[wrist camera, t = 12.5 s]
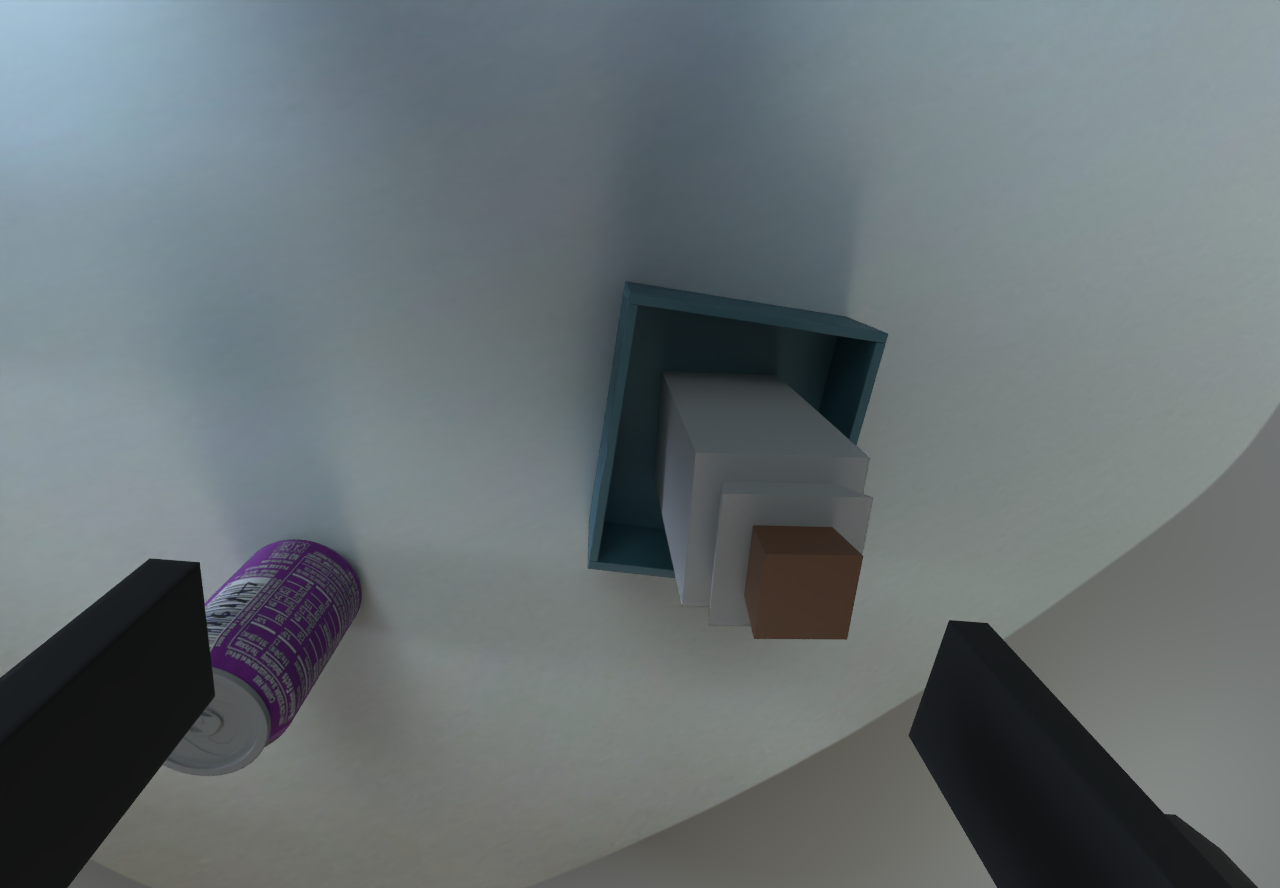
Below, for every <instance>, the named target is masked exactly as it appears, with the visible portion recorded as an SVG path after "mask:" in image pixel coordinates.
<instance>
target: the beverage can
mask: <svg viewBox="0 0 1280 888" xmlns="http://www.w3.org/2000/svg"><path fill="white" fill-rule="evenodd" d="M360 604H361V586H360V583H359V580H358V577H357V575H356V573H355V572H354V570H353V568H352V567H351V566H350V564H349V563H348V562H347V561H346V560H345V559H344V558H343V557H342V556H340V555H339V554H338V553H336V552H335V551H333V550H332V549H330V548H328V547H326V546H324V545H321V544H318V543H315V542H311V541H307V540H296V539H293V540H282V541H278V542H274V543H271V544H269V545H267V546H265V547H263V548H262V549H260V550H259V551H257V552H256V553H255V554H254V555H253V556H252V557H251V558H250V559H249V560H248V561H247V562H246V563H245V564H244V565H243V566H242V567H241V568H240V569H239V570H238V571H237V572H236V573H235V574H234V575H233V576H232V577H231V578H230V579H229V580H228V581H227V582H226V583H225V584H224V585H223V586H222V587H221V588H220V589H219V590H218V591H217V592H216V593H215V594H214V595H213V596H212V597H211V598H210V599H209V600H208V601H207V602H206V603H205V612H206V621H207V629H208V638H209V646H210V654H211V663H212V671H213V680H214V688H215V697H214V698H213V700H212V701H211V702H210V704H209V705H208V706H207V708H206V709H205V710H204V711H203V713H202V714H201V715H200V717H199V718H198V719H197V720H196V722H195V723H194V724H193V726H192V727H191V728H190V730H189V731H188V732H187V733H186V735H185V736H184V737H183V739H182V740H181V741H180V742H179V744H178V745H177V746H176V748H175V749H174V750H173V752H172V753H171V754H170V755H169V757H168V758H167V759H166V761H165V762H164V763H163V764H162V765H164V766H166V767H168V768H171V769H173V770H176V771H179V772H182V773H187V774H192V775H199V776H216V775H223V774H228V773H232V772H235V771H237V770H240V769H242V768H244V767H245V766H247V765H249V764H250V763H251V762H253V761H254V760H255V759H256V758H257V757H258V756H259V754H260V753H261V752H262V750H263V748H264V747H266V746H267V745H269V744H271V743H272V742H274V741H275V740H276V739H277V738H279V737H280V736H281V735H282V734H283V733H284V732H285V730H286V729H287V728H288V726H289V725H290V723H291V722H292V720H293V719H294V717H295V715H296V714H297V712H298V710H299V709H300V707H301V705H302V704H303V702H304V700H305V699H306V697H307V695H308V694H309V692H310V691H311V689H312V687H313V686H314V684H315V682H316V681H317V679H318V677H319V676H320V674H321V672H322V671H323V669H324V667H325V666H326V664H327V662H328V661H329V659H330V658H331V656H332V654H333V653H334V651H335V649H336V648H337V646H338V644H339V643H340V641H341V639H342V638H343V636H344V634H345V633H346V631H347V630H348V628H349V626H350V625H351V623H352V621H353V620H354V618H355V616H356V615H357V613H358V610H359V608H360Z"/></svg>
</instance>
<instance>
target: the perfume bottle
mask: <svg viewBox="0 0 1280 888" xmlns="http://www.w3.org/2000/svg"><path fill="white" fill-rule="evenodd" d="M869 459H870V458H869V457H868V456H867V455H866V454H865V453H864V452H863V451H861V450H860V449H859V448H858V447H857V446H856V445H855V444H854V443H852V442H851V441H850V440H849V439H848V438H847V437H846V436H845V435H843V434H842V433H841V432H840V431H839V430H838V429H837V428H836V427H834V426H833V425H832V424H831V423H830V422H829V421H828V420H827V419H825V418H824V417H823V416H822V415H821V414H820V413H819V412H818V411H816V410H815V409H814V408H813V407H812V406H811V405H810V404H809V403H807V402H806V401H805V400H804V399H803V398H802V397H801V396H800V395H799V394H797V393H796V392H795V391H794V390H793V389H792V388H791V387H790V386H788V385H787V384H786V383H785V382H784V381H783V380H782V379H781V378H779V377H778V376H777V375H755V374H731V373H707V372H682V371H662V374H661V388H660V403H659V417H658V432H657V446H656V461H655V475H654V481H655V485H656V490H657V494H658V499H659V504H660V508H661V513H662V517H663V522H664V527H665V531H666V536H667V540H668V545H669V550H670V554H671V559H672V563H673V568H674V572H675V577H676V582H677V586H678V591H679V595H680V600H681V605H682V606H689V607H710V612H709V626H751V628H752V632H753V637H754V639H847V637H848V631H849V626H850V621H851V616H852V611H853V606H854V601H855V595H856V590H857V585H858V580H859V575H860V570H861V564H862V559H863V555H862V553H863V548H864V543H865V538H866V532H867V527H868V522H869V517H870V512H871V507H872V501H873V497H870V496H867V495H865V494H863V491H864V486H865V480H866V475H867V470H868V464H869Z"/></svg>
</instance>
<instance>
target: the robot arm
mask: <svg viewBox="0 0 1280 888" xmlns="http://www.w3.org/2000/svg"><path fill="white" fill-rule="evenodd" d="M214 697H215V688H214V680H213V671H212V663H211V654H210V646H209V638H208V629H207V621H206V612H205V604H204V596H203V587H202V579H201V570H200V562H187V561H174V560H162V559H149V560H147V561H146V562H145V563H144V564H142V565H141V566H140V567H139V568H137V569H136V570H135V571H134V572H132V573H131V574H130V575H129V576H127V577H126V578H125V579H124V580H122V581H121V582H120V583H119V584H117V585H116V586H115V587H114V588H112V589H111V590H110V591H109V592H107V593H106V594H105V595H104V596H102V597H101V598H100V599H99V600H97V601H96V602H95V603H94V604H92V605H91V606H90V607H89V608H87V609H86V610H85V611H84V612H82V613H81V614H80V615H78V616H77V617H76V618H75V619H73V620H72V621H71V622H70V623H68V624H67V625H66V626H65V627H63V628H62V629H61V630H60V631H58V632H57V633H56V634H55V635H53V636H52V637H51V638H50V639H48V640H47V641H46V642H45V643H43V644H42V645H41V646H40V647H38V648H37V649H36V650H35V651H33V652H32V653H31V654H30V655H28V656H27V657H26V658H25V659H23V660H22V661H21V662H20V663H18V664H17V665H16V666H15V667H13V668H12V669H11V670H10V671H8V672H7V673H6V674H5V675H3V676H2V677H1V678H0V888H67V887H68V886H69V885H70V884H71V882H72V881H73V880H74V878H75V877H76V876H77V874H78V873H79V872H80V871H81V869H82V868H83V867H84V865H85V864H86V863H87V862H88V860H89V859H90V858H91V856H92V855H93V854H94V853H95V851H96V850H97V849H98V847H99V846H100V845H101V843H102V842H103V841H104V840H105V838H106V837H107V836H108V834H109V833H110V832H111V831H112V829H113V828H114V827H115V825H116V824H117V823H118V821H119V820H120V819H121V818H122V816H123V815H124V814H125V812H126V811H127V810H128V808H129V807H130V806H131V805H132V803H133V802H134V801H135V799H136V798H137V797H138V796H139V794H140V793H141V792H142V790H143V789H144V788H145V786H146V785H147V784H148V783H149V781H150V780H151V779H152V777H153V776H154V775H155V774H156V772H157V771H158V770H159V768H160V767H161V766H162V764H163V763H164V762H165V761H166V759H167V758H168V757H169V755H170V754H171V753H172V752H173V750H174V749H175V748H176V746H177V745H178V744H179V742H180V741H181V740H182V739H183V737H184V736H185V735H186V733H187V732H188V731H189V730H190V728H191V727H192V726H193V724H194V723H195V722H196V720H197V719H198V718H199V717H200V715H201V714H202V713H203V711H204V710H205V709H206V708H207V706H208V705H209V704H210V702H211V701H212V700H213V698H214ZM909 737H910V739H911V740H912V742H913V744H914V746H915V747H916V749H917V751H918V752H919V754H920V756H921V758H922V759H923V761H924V763H925V764H926V766H927V768H928V770H929V771H930V773H931V775H932V776H933V778H934V780H935V782H936V783H937V785H938V787H939V788H940V790H941V792H942V794H943V795H944V797H945V799H946V800H947V802H948V804H949V806H950V807H951V809H952V811H953V813H954V814H955V816H956V818H957V819H958V821H959V823H960V825H961V826H962V828H963V830H964V831H965V833H966V835H967V837H968V838H969V840H970V842H971V843H972V845H973V847H974V848H975V850H976V852H977V854H978V855H979V857H980V859H981V860H982V862H983V864H984V866H985V867H986V869H987V871H988V873H989V874H990V876H991V878H992V879H993V881H994V883H995V885H996V886H997V888H1258V887H1257V886H1256V885H1255V884H1254V883H1253V882H1252V881H1251V880H1250V879H1249V878H1248V877H1247V876H1246V875H1245V874H1244V873H1243V872H1242V871H1241V870H1240V869H1239V868H1238V866H1237V865H1236V864H1235V863H1234V862H1233V861H1232V860H1231V859H1230V858H1229V857H1228V856H1227V855H1226V854H1225V853H1224V852H1223V851H1222V850H1221V849H1220V848H1219V847H1217V846H1216V845H1215V844H1213V843H1212V842H1211V841H1209V840H1208V839H1207V838H1205V837H1204V836H1203V835H1201V834H1200V833H1199V832H1197V831H1196V830H1195V829H1194V828H1192V827H1191V826H1189V825H1188V824H1187V823H1186V822H1184V821H1183V820H1182V819H1180V818H1179V817H1178V816H1176V815H1170V814H1164V813H1163V812H1162V811H1161V810H1160V809H1159V808H1158V807H1157V806H1156V805H1155V804H1154V802H1153V801H1152V800H1151V799H1150V798H1149V797H1148V796H1147V795H1146V794H1145V793H1144V792H1143V790H1142V789H1141V788H1140V787H1139V786H1138V785H1137V784H1136V783H1135V782H1134V781H1133V780H1132V779H1131V778H1130V776H1129V775H1128V774H1127V773H1126V772H1125V771H1124V770H1123V769H1122V768H1121V767H1120V766H1119V765H1118V763H1116V761H1115V760H1114V759H1113V758H1112V757H1111V756H1110V755H1109V754H1108V753H1107V752H1106V751H1105V749H1104V748H1103V747H1102V746H1101V745H1100V744H1099V743H1098V742H1097V741H1096V740H1095V739H1094V738H1093V736H1092V735H1091V734H1090V733H1089V732H1088V731H1087V730H1086V729H1085V728H1084V727H1083V726H1082V725H1081V724H1080V722H1079V721H1078V720H1077V719H1076V718H1075V717H1074V716H1073V715H1072V714H1071V713H1070V712H1069V711H1068V710H1067V708H1066V707H1065V706H1064V705H1063V704H1062V703H1061V702H1060V701H1059V700H1058V699H1057V698H1056V697H1055V695H1054V694H1053V693H1052V692H1051V691H1050V690H1049V689H1048V688H1047V687H1046V686H1045V685H1044V684H1043V682H1042V681H1041V680H1040V679H1039V678H1038V677H1037V676H1036V675H1035V674H1034V673H1033V672H1032V671H1031V669H1030V668H1029V667H1027V665H1026V664H1025V663H1024V662H1023V661H1022V660H1021V659H1020V658H1019V657H1018V655H1017V654H1016V653H1015V652H1014V651H1013V650H1012V649H1011V648H1010V647H1009V646H1008V645H1007V644H1006V642H1005V641H1004V640H1003V639H1002V638H1001V637H1000V636H999V635H998V634H997V633H996V632H995V631H994V629H993V628H992V627H991V626H990V625H989V624H988V623H978V622H965V621H952V620H949V622H948V625H947V628H946V631H945V634H944V637H943V639H942V642H941V645H940V648H939V651H938V654H937V656H936V659H935V662H934V665H933V668H932V671H931V673H930V676H929V679H928V682H927V685H926V688H925V690H924V693H923V696H922V699H921V702H920V705H919V708H918V711H917V713H916V716H915V719H914V722H913V725H912V727H911V731H910V733H909Z"/></svg>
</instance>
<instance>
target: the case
mask: <svg viewBox="0 0 1280 888" xmlns="http://www.w3.org/2000/svg"><path fill="white" fill-rule="evenodd" d="M887 336H888V334H887V333H885V332H883V331H880V330H878V329H875V328H873V327H870V326H868V325H866V324H863V323H861V322H858V321H856V320H853V319H851V318H848V317H844V316H838V315H832V314H826V313H819V312H813V311H807V310H801V309H795V308H788V307H782V306H776V305H770V304H763V303H757V302H751V301H745V300H738V299H732V298H726V297H720V296H713V295H707V294H701V293H695V292H688V291H682V290H676V289H670V288H663V287H657V286H651V285H645V284H638V283H632V282H625V285H624V292H623V299H622V305H621V312H620V319H619V325H618V332H617V339H616V345H615V352H614V359H613V365H612V372H611V379H610V385H609V392H608V399H607V405H606V412H605V419H604V425H603V432H602V439H601V445H600V452H599V459H598V465H597V472H596V479H595V485H594V492H593V499H592V505H591V512H590V519H589V538H588V569H596V570H606V571H615V572H624V573H633V574H642V575H651V576H661V577H670V578H676V577H675V572H674V568H673V563H672V559H671V554H670V550H669V545H668V540H667V536H666V531H665V527H664V522H663V517H662V513H661V508H660V504H659V499H658V494H657V490H656V485H655V481H654V475H655V461H656V446H657V432H658V417H659V403H660V388H661V374H662V371H682V372H707V373H731V374H755V375H777V376H778V377H779V378H781V379H782V380H783V381H784V382H785V383H786V384H787V385H788V386H790V387H791V388H792V389H793V390H794V391H795V392H796V393H797V394H799V395H800V396H801V397H802V398H803V399H804V400H805V401H806V402H807V403H809V404H810V405H811V406H812V407H813V408H814V409H815V410H816V411H818V412H819V413H820V414H821V415H822V416H823V417H824V418H825V419H827V420H828V421H829V422H830V423H831V424H832V425H833V426H834V427H836V428H837V429H838V430H839V431H840V432H841V433H842V434H843V435H845V436H846V437H847V438H848V439H849V440H850V441H851V442H852V443H854V444H855V445H856V444H857V441H858V437H859V434H860V431H861V427H862V424H863V420H864V417H865V413H866V410H867V406H868V403H869V399H870V396H871V392H872V389H873V385H874V382H875V378H876V375H877V371H878V368H879V364H880V361H881V357H882V354H883V350H884V347H885V343H886V340H887Z"/></svg>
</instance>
